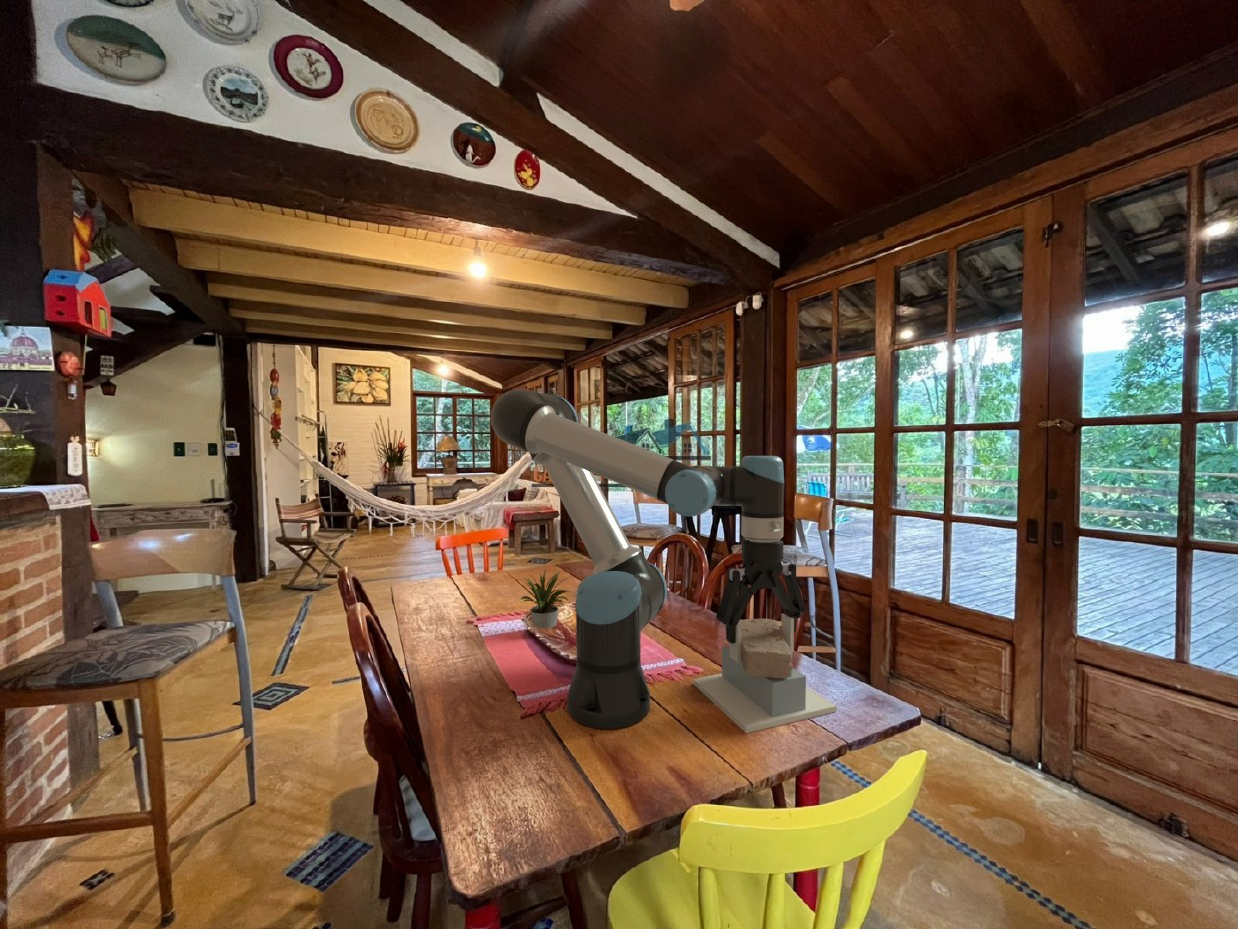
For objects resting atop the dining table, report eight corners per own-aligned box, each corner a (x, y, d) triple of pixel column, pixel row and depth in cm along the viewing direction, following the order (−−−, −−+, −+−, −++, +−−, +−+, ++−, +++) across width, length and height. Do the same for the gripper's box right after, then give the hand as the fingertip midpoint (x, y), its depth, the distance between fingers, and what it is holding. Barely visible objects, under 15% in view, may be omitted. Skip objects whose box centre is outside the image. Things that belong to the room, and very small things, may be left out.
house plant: (517, 650, 116) (516, 580, 115) (507, 629, 128) (506, 567, 128) (575, 640, 121) (575, 574, 120) (560, 622, 134) (560, 561, 133)
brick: (794, 679, 85) (794, 652, 85) (744, 676, 86) (744, 650, 86) (776, 641, 101) (776, 618, 101) (734, 639, 102) (734, 617, 102)
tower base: (746, 733, 82) (746, 691, 82) (693, 684, 99) (693, 649, 99) (836, 711, 89) (837, 673, 89) (772, 668, 106) (772, 636, 105)
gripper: (718, 547, 85) (718, 673, 86) (827, 537, 93) (825, 652, 94) (696, 539, 92) (697, 656, 93) (799, 531, 100) (798, 638, 101)
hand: (761, 654), depth 94 cm, fingers closed on brick, 11 cm apart
